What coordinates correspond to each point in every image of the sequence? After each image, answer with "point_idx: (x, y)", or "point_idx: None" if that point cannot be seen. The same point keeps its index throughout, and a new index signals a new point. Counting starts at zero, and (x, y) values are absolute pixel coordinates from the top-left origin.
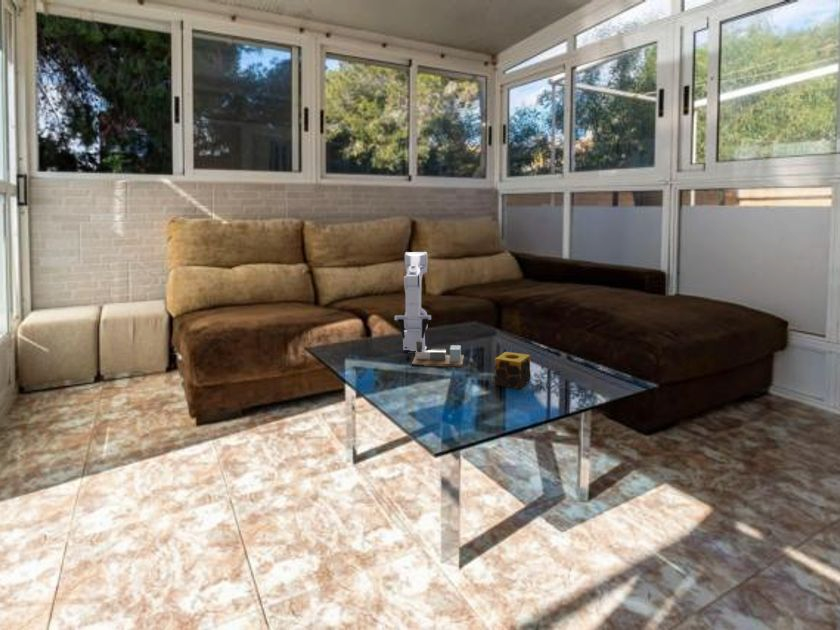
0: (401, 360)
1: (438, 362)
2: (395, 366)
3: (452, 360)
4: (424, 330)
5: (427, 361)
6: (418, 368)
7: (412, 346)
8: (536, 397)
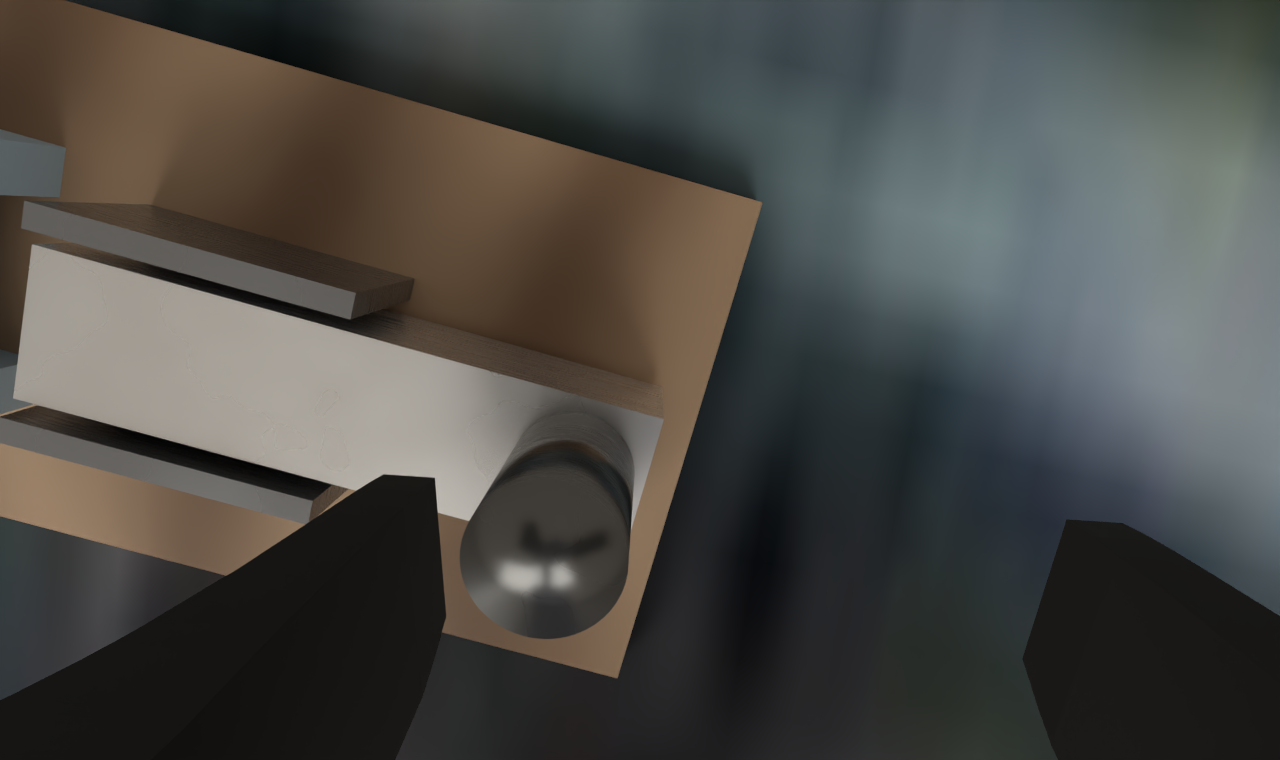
0: (876, 532)
1: (278, 141)
2: (1033, 237)
3: (3, 131)
4: (182, 614)
5: (469, 249)
6: (665, 28)
7: None
8: None
